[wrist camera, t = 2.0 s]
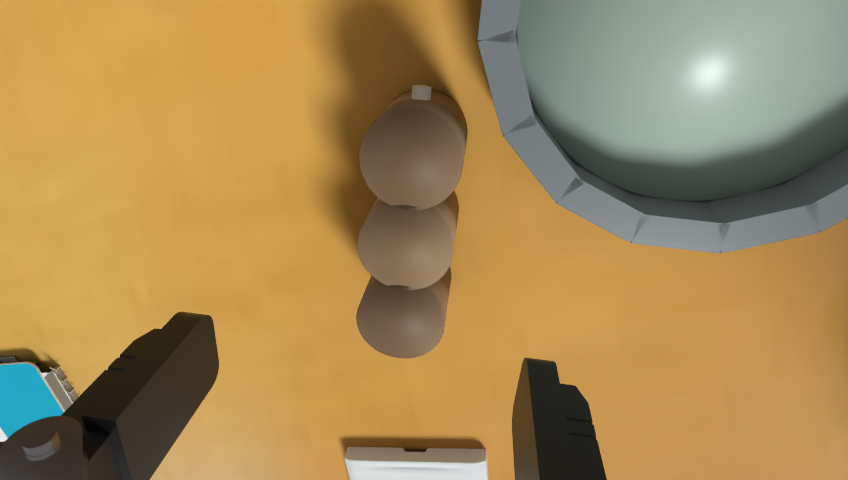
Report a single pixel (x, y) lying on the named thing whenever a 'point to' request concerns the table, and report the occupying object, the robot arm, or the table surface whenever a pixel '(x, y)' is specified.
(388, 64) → the table surface
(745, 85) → the round tray
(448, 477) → the external hard drive
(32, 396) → the blue flat panel
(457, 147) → the bead string
